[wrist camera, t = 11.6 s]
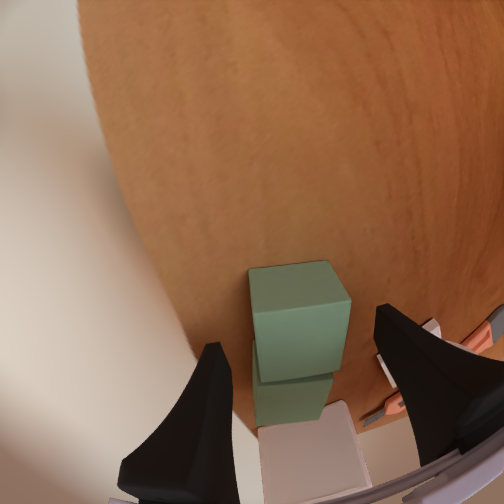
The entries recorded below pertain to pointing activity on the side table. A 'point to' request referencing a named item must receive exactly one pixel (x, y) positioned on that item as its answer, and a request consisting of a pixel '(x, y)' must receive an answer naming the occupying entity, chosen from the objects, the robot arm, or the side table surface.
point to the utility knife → (477, 341)
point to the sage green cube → (298, 319)
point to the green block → (288, 397)
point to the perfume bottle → (312, 459)
